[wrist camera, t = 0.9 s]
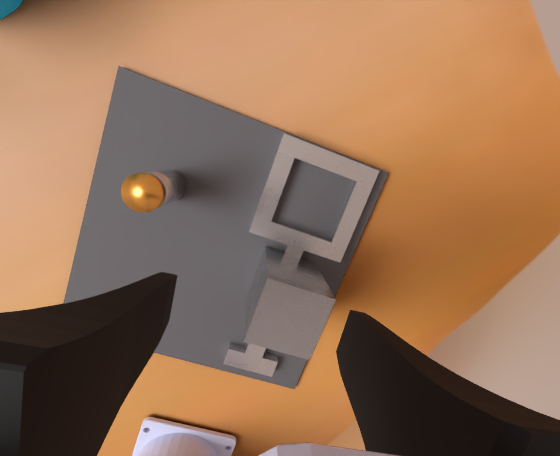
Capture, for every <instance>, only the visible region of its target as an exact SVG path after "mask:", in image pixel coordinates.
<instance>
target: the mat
mask: <svg viewBox="0 0 560 456" xmlns="http://www.w3.org/2000/svg"><path fill="white" fill-rule="evenodd" d="M284 133H285V134H287V135H290V136H292V137H295V138H297V139H300V140H303V141H305V142H308V143H310V144H313V145H315V146H318V147H320V148H323V149H325V150H328V151H330V152H333V153H335V154H338V155H341V156H343V157H346V158H348V159H351V160H353V161H356V162H358V163H361V164H363V165H366V166H368V167H371V168H374V169H376V170H379V173H378V176H377V178H376V180H375V183H374V185H373V188H372V190H371V192H370V195H369V197H368V199H367V202H366V204H365V206H364V209H363V211H362V213H361V216H360V218H359V220H358V223H357V225H356V227H355V230H354V232H353V234H352V237H351V239H350V241H349V244H348V246H347V248H346V251H345V253H344V255H343V258H342V260H341V262H337V261H334V260H331V259H328V258H325V257H322V256H319V255H316V254H313V253H310V252H307V251H303V253H302V256H301V258H303V259H306V260H309V261H312V262H315V263H316V265H317V266H318V268H319V270H320V272H321V274H322V275H323V277H324V279H325V281H326V283H327V284H328V286H329V288H330V290H331V292H332V293H333V295H334V297H335V295H336V293H337V290H338V288H339V286H340V283H341V281H342V279H343V277H344V274H345V272H346V270H347V267H348V265H349V263H350V260H351V258H352V256H353V254H354V251H355V249H356V247H357V244H358V242H359V240H360V237H361V235H362V233H363V231H364V228H365V226H366V224H367V221H368V219H369V217H370V214H371V212H372V210H373V207H374V205H375V203H376V201H377V198H378V196H379V194H380V191H381V189H382V187H383V184H384V182H385V180H386V178H387V175H388V172H385V171H383V170H380V169H378V168H375V167H373V166H370V165H368V164H365V163H363V162H360V161H358V160H355V159H352V158H350V157H347V156H345V155H342V154H340V153H337V152H335V151H332V150H330V149H327V148H325V147H322V146H320V145H317V144H315V143H312V142H309V141H307V140H304V139H302V138H299V137H297V136H294V135H292V134H289V133H287V132H284V131H282V130H279V129H277V128H274V127H271V126H269V125H266V124H264V123H261V122H259V121H256V120H254V119H251V118H249V117H246V116H244V115H241V114H239V113H236V112H234V111H231V110H228V109H226V108H223V107H221V106H218V105H216V104H213V103H211V102H208V101H206V100H203V99H201V98H198V97H196V96H193V95H191V94H188V93H185V92H183V91H180V90H178V89H175V88H173V87H170V86H168V85H165V84H163V83H160V82H158V81H155V80H153V79H150V78H148V77H145V76H142V75H140V74H137V73H135V72H132V71H130V70H127V69H125V68H122V67H120V66H119V67H118V71H117V75H116V80H115V84H114V88H113V92H112V97H111V101H110V105H109V110H108V114H107V118H106V123H105V127H104V131H103V136H102V140H101V144H100V148H99V153H98V157H97V161H96V166H95V170H94V174H93V179H92V183H91V187H90V192H89V196H88V200H87V204H86V209H85V213H84V217H83V222H82V226H81V230H80V235H79V239H78V243H77V248H76V252H75V256H74V260H73V265H72V269H71V273H70V278H69V282H68V286H67V291H66V295H65V299H64V304H65V303H69V302H74V301H78V300H82V299H86V298H90V297H93V296H97V295H100V294H103V293H106V292H109V291H112V290H115V289H118V288H121V287H124V286H126V285H129V284H131V283H134V282H136V281H139V280H141V279H144V278H146V277H149V276H151V275H154V274H157V273H160V272H165V273H170V274H175V275H178V276H177V281H176V287H175V292H174V298H173V303H172V309H171V314H170V320H169V323H168V325H167V327H166V329H165V332H164V334H163V336H162V338H161V340H160V343H159V344H158V346H157V348H156V349H155V351H154V353H158V354H162V355H166V356H169V357H173V358H177V359H181V360H185V361H189V362H192V363H196V364H200V365H204V366H208V367H212V368H216V369H219V370H223V371H227V372H231V373H235V374H239V375H242V376H246V377H250V378H254V379H258V380H262V381H265V382H269V383H273V384H277V385H281V386H285V387H288V388H292V389H295V387H296V385H297V382H298V380H299V378H300V375H301V373H302V371H303V369H304V366H305V364H306V362H307V359H304V358H300V357H296V356H293V355H289V354H286V353H282V352H278V351H275V350H271V349H268V348H266V350H265V352H266V353H270V354H274V355H277V358H278V363H277V366H276V368H275V370H274V373H273V375H272V377H270V376H266V375H263V374H259V373H255V372H251V371H247V370H244V369H240V368H236V367H232V366H228V365H225V364H223V362H224V357H225V354H226V351H227V349H228V346H229V343H234V344H237V345H241V346H245V347H246V344H247V343H246V342H244V331H245V319H246V308H247V297H248V292H249V289H250V286H251V284H252V281H253V278H254V275H255V273H256V270H257V267H258V265H259V262H260V259H261V256H262V254H263V251H264V248H265V246H267V247H270V248H273V249H276V250H279V251H282V252H283V251H284V248H285V246H286V244H283V243H280V242H277V241H274V240H271V239H268V238H265V237H262V236H259V235H256V234H253V233H250V232H249V229H250V227H251V224H252V221H253V218H254V215H255V212H256V210H257V207H258V204H259V201H260V198H261V195H262V193H263V190H264V187H265V184H266V181H267V178H268V176H269V173H270V170H271V167H272V164H273V161H274V159H275V156H276V153H277V150H278V147H279V144H280V142H281V139H282V136H283V134H284ZM169 170H173V171H176V172H179V173H180V174H181V175H182V176H183V177H184V178H185V180H186V183H187V189H186V192H185V194H184V195H183V196H182V197H181V198H179V199H177V200H175V201H172V202H170V203H168V204H166V205H163V206H161V207H159V208H157V209H155V210H152V211H150V212H146V213H141V212H136V211H134V210H132V209H130V208H129V207H128V206H127V205H126V204H125V203H124V201H123V199H122V196H121V186H122V184H123V182H124V180H125V179H126V178H127V177H128V176H130V175H132V174H137V173H147V172H158V171H169ZM352 183H353V181H352V180H350V179H347V178H345V177H342V176H339V175H337V174H334V173H332V172H329V171H326V170H324V169H321V168H319V167H316V166H313V165H311V164H308V163H305V162H303V161H300V160H298V159H295V158H294V161H293V163H292V166H291V169H290V172H289V174H288V177H287V180H286V183H285V185H284V188H283V191H282V194H281V196H280V199H279V202H278V204H277V207H276V210H275V213H274V215H273V218H272V220H274V221H277V222H280V223H282V224H285V225H288V226H291V227H294V228H297V229H300V230H303V231H306V232H308V233H311V234H314V235H317V236H320V237H323V238H326V239H329V238H330V236H331V233H332V231H333V229H334V226H335V224H336V221H337V219H338V216H339V214H340V212H341V209H342V207H343V204H344V202H345V199H346V197H347V195H348V192H349V190H350V187H351V185H352Z"/></svg>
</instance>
